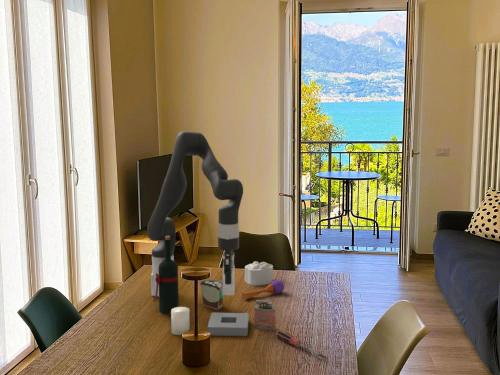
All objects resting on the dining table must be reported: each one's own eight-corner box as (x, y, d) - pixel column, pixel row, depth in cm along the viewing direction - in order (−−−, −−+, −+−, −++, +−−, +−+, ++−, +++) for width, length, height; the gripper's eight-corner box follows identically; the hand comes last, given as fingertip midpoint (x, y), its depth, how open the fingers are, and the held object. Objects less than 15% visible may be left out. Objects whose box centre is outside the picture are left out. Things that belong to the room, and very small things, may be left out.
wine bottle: (150, 309, 213) (148, 235, 209) (174, 305, 218) (173, 233, 214) (157, 316, 206) (155, 240, 202) (181, 311, 211) (180, 237, 207)
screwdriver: (329, 361, 169) (330, 352, 169) (323, 364, 167) (323, 355, 167) (280, 335, 189) (280, 327, 188) (273, 337, 187) (273, 329, 187)
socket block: (207, 335, 188) (207, 327, 188) (211, 320, 202) (211, 312, 202) (247, 335, 188) (247, 327, 188) (248, 320, 202) (248, 313, 201)
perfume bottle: (276, 327, 196) (276, 300, 195) (273, 330, 193) (274, 303, 191) (255, 324, 199) (255, 298, 197) (252, 327, 195) (252, 301, 194)
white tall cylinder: (222, 295, 192) (222, 267, 190) (223, 291, 196) (223, 264, 194) (233, 295, 191) (233, 268, 190) (234, 291, 195) (234, 264, 194)
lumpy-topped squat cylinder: (242, 280, 252) (242, 262, 251) (266, 276, 258) (266, 259, 257) (252, 286, 243) (252, 268, 242) (277, 282, 249) (277, 264, 247)
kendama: (239, 288, 227) (278, 278, 238) (241, 302, 228) (280, 291, 238) (246, 290, 222) (285, 279, 232) (248, 304, 222) (287, 292, 233)
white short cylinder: (170, 334, 189) (169, 313, 188) (173, 327, 195) (172, 306, 194) (188, 335, 188) (187, 313, 187) (190, 328, 195) (190, 307, 194)
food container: (231, 307, 216) (231, 283, 215) (220, 311, 212) (220, 286, 210) (211, 300, 225) (210, 276, 223) (200, 303, 220) (199, 280, 219)
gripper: (219, 231, 198) (220, 276, 200) (216, 239, 184) (216, 288, 186) (240, 231, 198) (240, 276, 200) (237, 240, 183) (238, 288, 186)
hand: (228, 281), depth 193 cm, fingers closed on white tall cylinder, 4 cm apart
